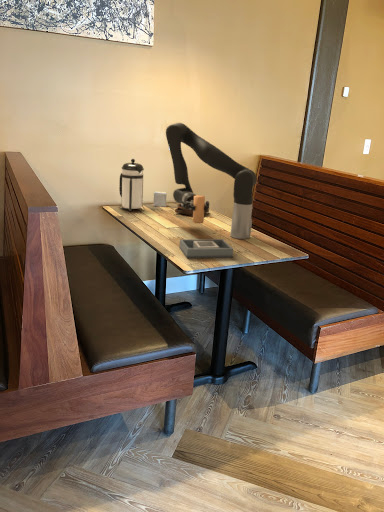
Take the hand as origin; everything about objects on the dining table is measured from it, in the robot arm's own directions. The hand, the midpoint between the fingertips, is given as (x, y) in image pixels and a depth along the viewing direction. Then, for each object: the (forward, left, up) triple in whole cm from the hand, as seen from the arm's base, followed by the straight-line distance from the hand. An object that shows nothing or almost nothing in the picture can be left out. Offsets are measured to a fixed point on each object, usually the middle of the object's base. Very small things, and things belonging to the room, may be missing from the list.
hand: (200, 208), depth 189 cm
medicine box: (+3, -81, -17) cm, 83 cm away
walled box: (0, +13, -17) cm, 21 cm away
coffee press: (+23, -71, -17) cm, 76 cm away
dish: (-13, -61, -17) cm, 64 cm away
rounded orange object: (0, -3, -7) cm, 7 cm away
